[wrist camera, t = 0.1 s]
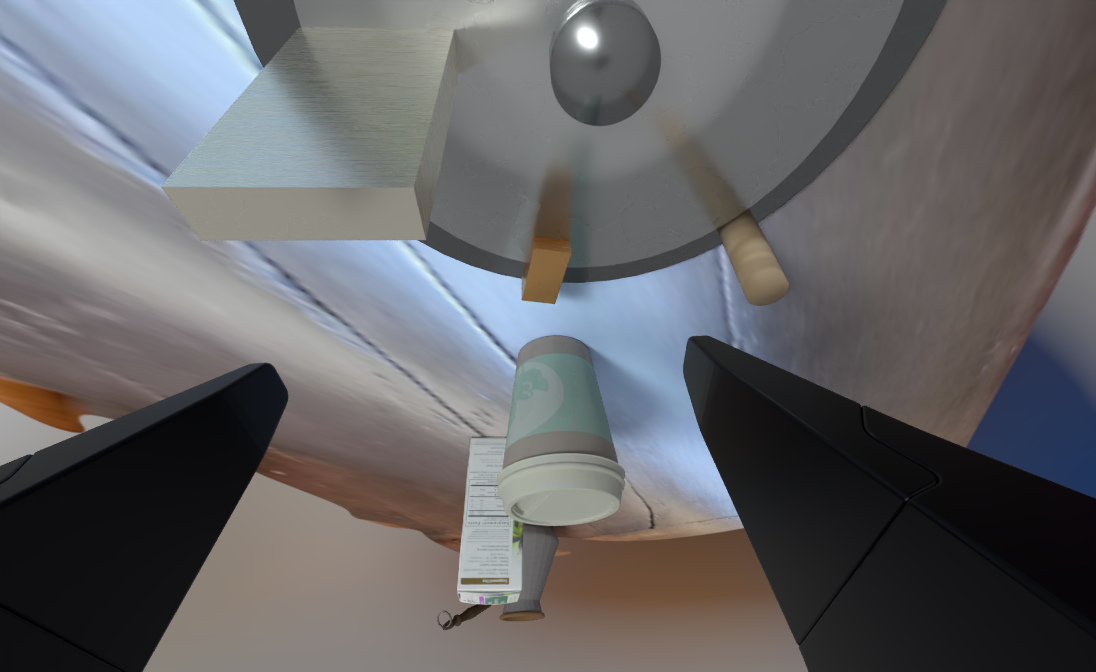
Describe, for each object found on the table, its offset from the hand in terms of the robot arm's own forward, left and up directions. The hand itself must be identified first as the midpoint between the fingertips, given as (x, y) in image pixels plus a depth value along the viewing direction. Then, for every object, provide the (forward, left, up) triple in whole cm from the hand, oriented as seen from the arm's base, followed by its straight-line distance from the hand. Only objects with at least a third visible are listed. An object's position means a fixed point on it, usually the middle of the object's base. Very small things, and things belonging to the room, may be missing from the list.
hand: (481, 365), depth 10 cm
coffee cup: (+16, +15, -16) cm, 27 cm away
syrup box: (+33, +20, -16) cm, 41 cm away
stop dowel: (-1, +15, -15) cm, 22 cm away
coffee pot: (+54, +34, -16) cm, 65 cm away
